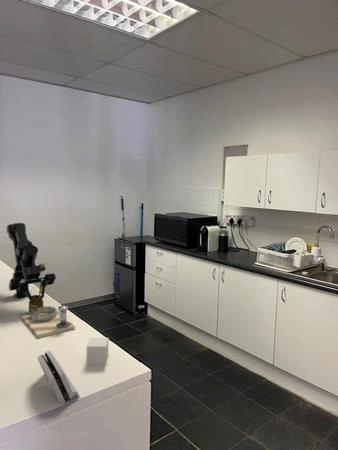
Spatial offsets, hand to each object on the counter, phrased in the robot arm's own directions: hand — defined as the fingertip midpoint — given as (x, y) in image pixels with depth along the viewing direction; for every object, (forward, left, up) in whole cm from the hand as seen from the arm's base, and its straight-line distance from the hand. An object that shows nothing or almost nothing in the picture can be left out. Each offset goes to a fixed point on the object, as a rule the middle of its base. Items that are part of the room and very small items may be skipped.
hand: (37, 298), depth 144 cm
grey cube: (+50, +4, -7) cm, 51 cm away
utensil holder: (-1, 0, -7) cm, 7 cm away
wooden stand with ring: (+13, 0, -7) cm, 15 cm away
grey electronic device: (+57, -12, -7) cm, 59 cm away
